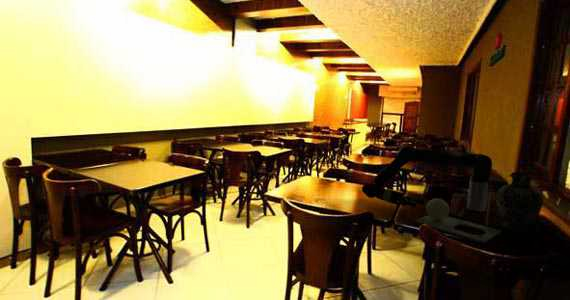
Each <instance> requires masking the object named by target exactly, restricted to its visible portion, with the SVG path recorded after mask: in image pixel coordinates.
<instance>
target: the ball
mask: <svg viewBox="0 0 570 300" xmlns="http://www.w3.org/2000/svg"><path fill="white" fill-rule="evenodd" d="M425 211H426V214H427V216H428V215H429V216H430V217H431V218H432V219H435V220H443V219H445V218H446V217H447V216H449V214H450V206H449V204H448V203H447V202H446V201H445V200H443V199H442V198H433V199H431V200H429V201H428V202H427V204H426V206H425Z"/></svg>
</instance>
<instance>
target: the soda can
mask: <svg viewBox="0 0 570 300" xmlns="http://www.w3.org/2000/svg"><path fill="white" fill-rule="evenodd" d="M466 208H467V196H466V195H465V194H463V193H460V192H459V193H458V192H455V193H453V195H452V196H451V202H450V214H451V215H452V217H453V216H454V217H455V218H462V217H465V213H466Z"/></svg>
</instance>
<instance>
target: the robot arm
mask: <svg viewBox="0 0 570 300" xmlns="http://www.w3.org/2000/svg"><path fill="white" fill-rule="evenodd" d="M409 162H414V163H415V162H416V163H417V162H418V163H424V164H429V165H436V166H441V167H452V166H453V167H455V166H456V167H457V166H462V167H463V166H464V167H468V168H469V167H470V168H473V171H472V174H471V175H470V177H469V184H468V193H467V200H466V208H467V209H468V210H470V211H473V212H479V213H480V212H481V213H482V212H485V211H487V209H488V200H489V194H487V193H488V186H489V185H488V184H489V179H490V178H491V174H492V168H493V161H492V158H491V157H490V156H489V155H486V154H484V153H464V152H463V153H461V152H457V151H450V150H445V149H444V150H443V149H442V150H441V149H424V150H423V149H417V148H416V149H415V148H412V147H410V146H403V147H401V148H398V151H397V152H396V156H395V158H394V159H393V160H392V161H391V162H390V163H389V164H387V165H386V166H385V167H384V168H383V169H381V171H379V173H377V174H376V175H375V176H374V177H373V179H372V180H373V184H372V183H364V184H363V185H362V186H361V191H362V193H363V194H364V195H365V196H366V197H367V198H369V199H374V198H376V199H379V200H381V201H383V202H387V203H389V204H393V205H396V206H403V207H406V206H410V207H413V208H417V204H419V205H425V200H424V199H419V197H417V196H412V195H404V193H403V192H401V191H399V190H398V191H397V190H394V189H387V188H383V186H384V185H385V184H386V183H387V182H388V181H389V180H390V179H392V177H393V176H395V174H397V172H398V171H399V170H400V169H401V168H403V167H404V166H405V165H406V164H408V163H409Z"/></svg>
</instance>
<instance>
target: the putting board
mask: <svg viewBox="0 0 570 300" xmlns="http://www.w3.org/2000/svg"><path fill="white" fill-rule="evenodd" d="M502 196H503V194H498V192H493V191H489V193H488V200H487V208H486V211H487V212H486V217H485V218H486V220H485V226H484V225H482V224H477V223H474V222H470V221H468V220H463V219H460V218H457V217H453V216H449V215H448V216H447V217H446V218H445V219H443V220H435V219H432V218H431V217H430V216H429V215H428V214H427V215H425V216H423V217H420V218H417V219H415V220H414V223H416V224H420V225H422V223H426V224H429V225H430V226H432V227H433V228H432V227H431V228H432V229H436V230H439V231H441V230H442V231H441V232H446V233H448V234H452V235H454V234H456V235H455V236H457V235H459V236H458V237H461V236H463V237H462V238H464V237H466V238H465V239H467V238H471V239H475V240H478V241H481V242H486V243H487V241H488V242H489V241H491V240H492V239H494V238H495V237H497V236H498V235H501V233H502V230H499V229H496V228H492V227H488V225H489V222H488V221H489V218H490V217H489V215H490V209H491V200H495V201H496V200H499V201H502ZM458 226H460V227H468V228H473V229H475V230H479V231H482V232H484V233H483V234H472V233H468V232H465V231H462V230H458V229H456V227H458Z"/></svg>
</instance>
